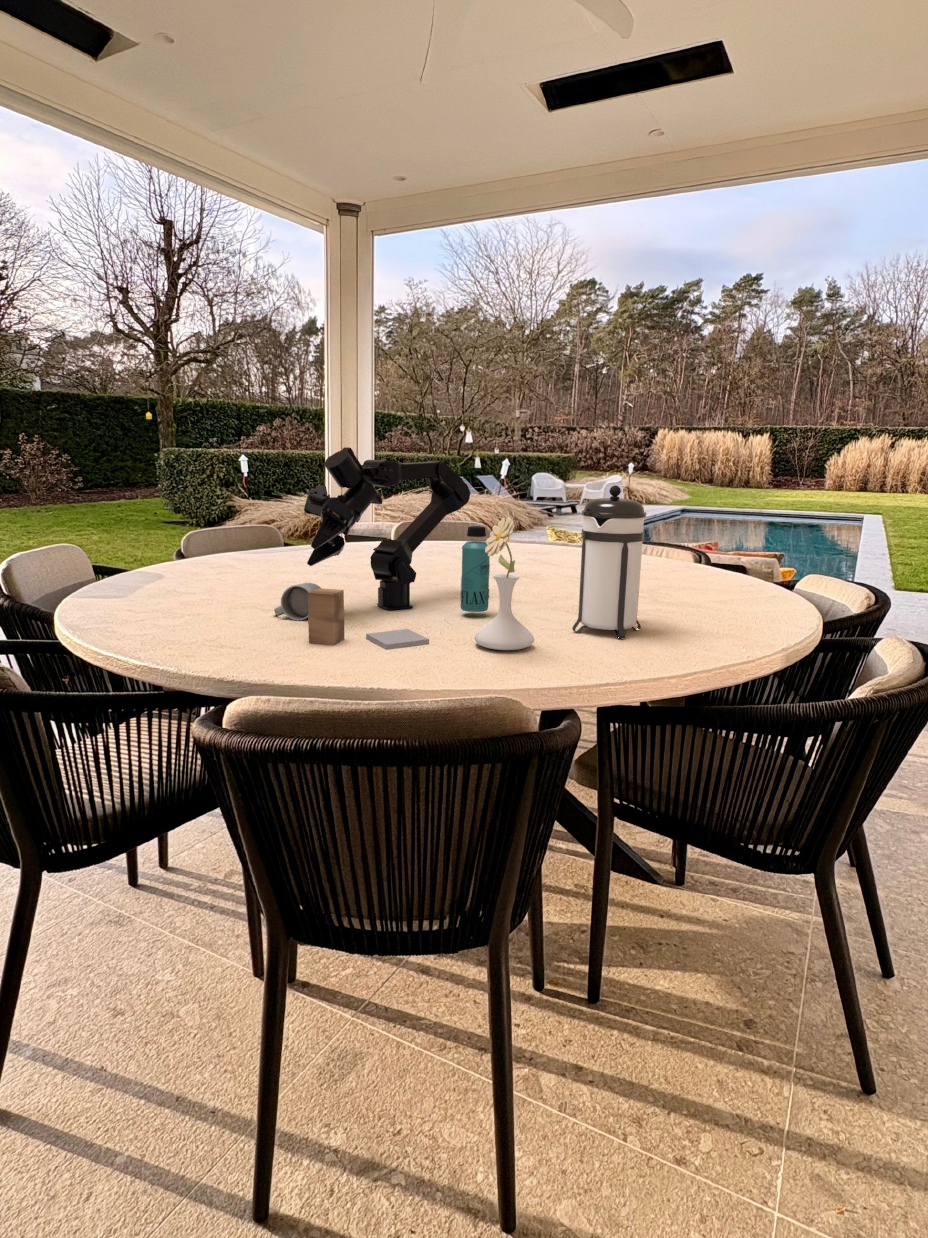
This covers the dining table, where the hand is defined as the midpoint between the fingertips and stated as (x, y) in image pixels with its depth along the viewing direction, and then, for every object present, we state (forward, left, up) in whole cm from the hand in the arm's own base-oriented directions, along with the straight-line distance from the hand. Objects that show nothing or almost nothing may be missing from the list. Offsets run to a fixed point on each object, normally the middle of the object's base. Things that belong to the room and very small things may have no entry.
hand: (310, 556), depth 161 cm
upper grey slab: (-9, +23, -14) cm, 28 cm away
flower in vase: (-25, +36, -14) cm, 46 cm away
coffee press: (-53, +33, -14) cm, 64 cm away
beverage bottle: (-35, +9, -14) cm, 39 cm away
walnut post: (+3, +17, -14) cm, 22 cm away
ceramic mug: (0, -8, -15) cm, 16 cm away
